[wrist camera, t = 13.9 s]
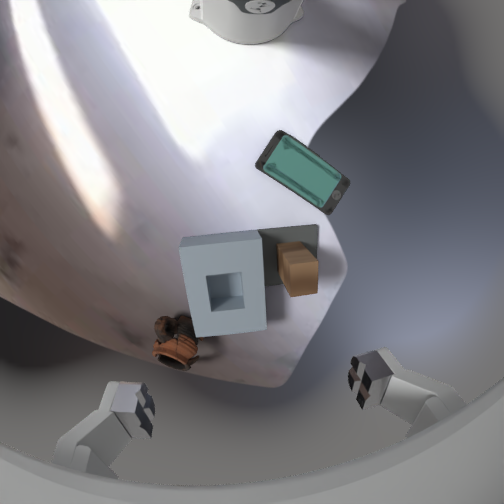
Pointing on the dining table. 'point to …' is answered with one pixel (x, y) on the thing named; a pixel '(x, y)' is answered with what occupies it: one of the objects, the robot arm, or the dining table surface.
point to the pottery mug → (176, 342)
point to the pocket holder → (224, 282)
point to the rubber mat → (284, 235)
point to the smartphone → (302, 172)
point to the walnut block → (297, 268)
